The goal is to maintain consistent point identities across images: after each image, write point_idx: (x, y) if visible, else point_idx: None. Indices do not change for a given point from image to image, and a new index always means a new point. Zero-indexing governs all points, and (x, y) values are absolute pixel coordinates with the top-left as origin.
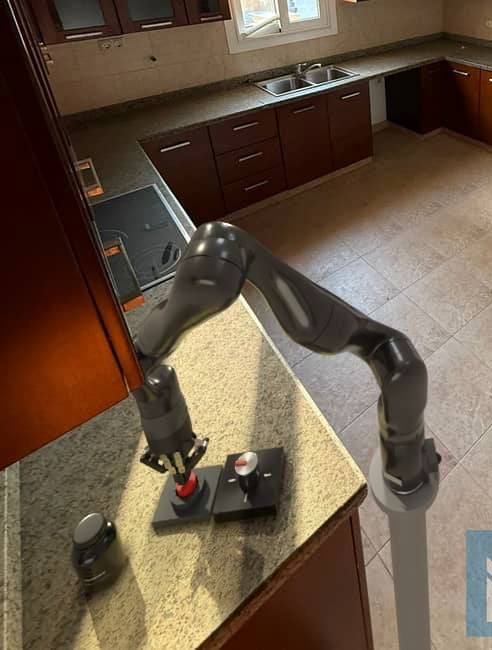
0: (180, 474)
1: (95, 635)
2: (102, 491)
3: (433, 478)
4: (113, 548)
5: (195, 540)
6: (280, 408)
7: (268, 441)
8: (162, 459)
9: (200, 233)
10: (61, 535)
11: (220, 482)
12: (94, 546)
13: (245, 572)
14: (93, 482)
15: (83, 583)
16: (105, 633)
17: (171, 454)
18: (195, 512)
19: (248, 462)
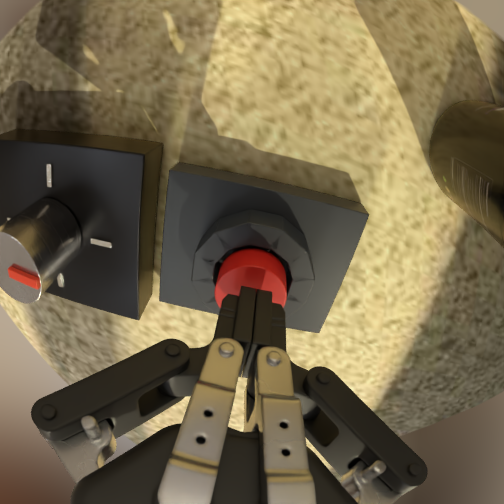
0: (243, 335)
1: (463, 16)
2: (459, 330)
3: None
4: (501, 148)
5: (221, 114)
6: (71, 356)
7: (71, 305)
8: (302, 486)
9: None
10: None
11: (138, 250)
12: None
13: (74, 11)
14: (468, 349)
15: None
16: (443, 4)
17: (244, 484)
18: (220, 189)
19: (6, 269)
